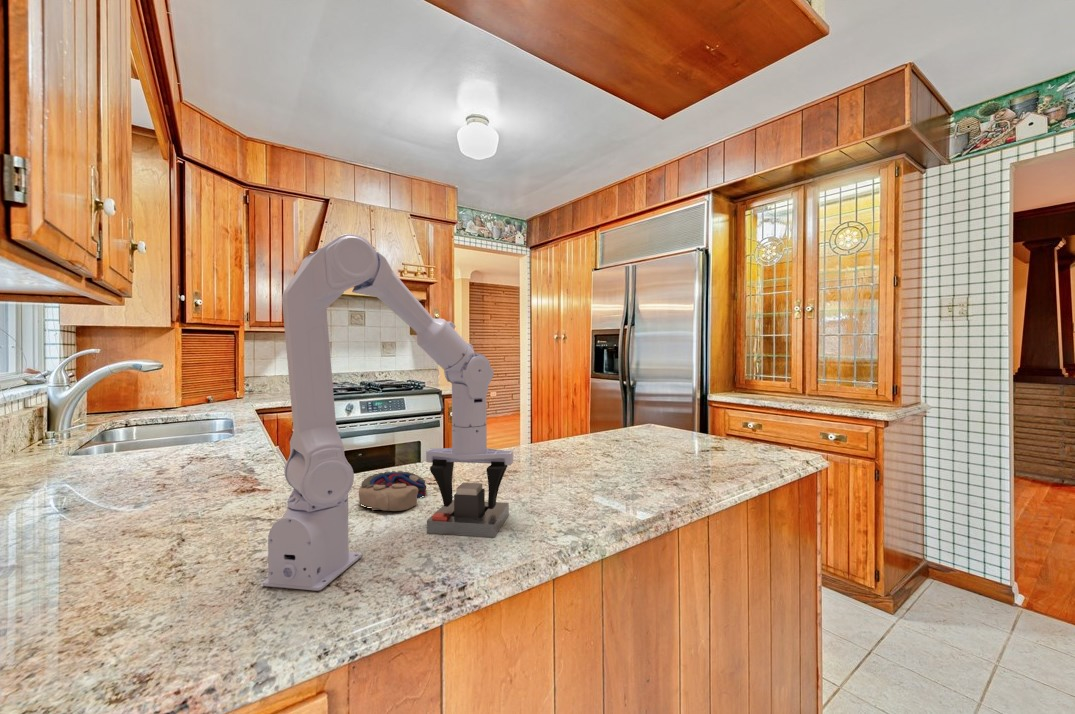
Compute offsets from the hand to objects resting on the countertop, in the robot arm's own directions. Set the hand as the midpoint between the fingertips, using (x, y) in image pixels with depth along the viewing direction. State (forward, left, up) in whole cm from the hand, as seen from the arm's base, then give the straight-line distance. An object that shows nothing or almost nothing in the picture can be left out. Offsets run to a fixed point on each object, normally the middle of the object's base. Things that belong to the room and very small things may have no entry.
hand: (469, 505), depth 74 cm
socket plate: (0, 0, -3) cm, 3 cm away
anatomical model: (+9, +18, -3) cm, 21 cm away
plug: (0, 0, -3) cm, 3 cm away
